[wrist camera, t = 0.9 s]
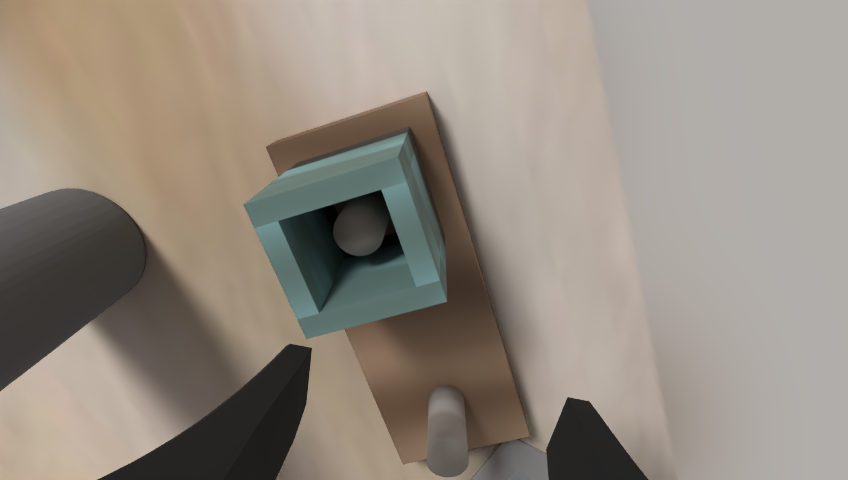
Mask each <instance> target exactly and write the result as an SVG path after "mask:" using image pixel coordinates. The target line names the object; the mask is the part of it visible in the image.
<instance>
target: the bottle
mask: <svg viewBox="0 0 848 480" xmlns="http://www.w3.org/2000/svg"><path fill="white" fill-rule="evenodd" d="M145 261H146V252H145V246H144V242H143V239H142V236H141V234H140V232H139V230H138V228H137V226H136V225H135V223H134V222H133V221H132V219H131V218H130V217H129V216H128V215H127V214H126V212H125V211H123V210H122V209H121V208H120V207H119V206H117V205H116V204H115V203H113V202H112V201H111V200H109V199H107V198H105V197H104V196H101V195H99V194H97V193H94V192H90V191H86V190H82V189H60V190H56V191H51V192H48V193H45V194H42V195H39V196H36V197H33V198H30V199H28V200H25V201H22V202H19V203H16V204H14V205H11V206H8V207H5V208H2V209H0V391H1V390H2V389H4V388H5V387H6V386H8V385H9V384H10V383H12V382H13V381H14V380H15V379H17V378H18V377H19V376H21V375H22V374H23V373H25V372H26V371H27V370H28V369H30V368H31V367H32V366H34V365H35V364H36V363H38V362H39V361H40V360H41V359H43V358H44V357H45V356H47V355H48V354H49V353H51V352H52V351H53V350H54V349H56V348H57V347H58V346H60V345H61V344H62V343H63V342H65V341H66V340H67V339H68V338H70V337H71V336H72V335H74V334H75V333H76V332H77V331H79V330H80V329H81V328H82V327H84V326H85V325H86V324H88V323H89V322H90V321H91V320H93V319H94V318H95V317H97V316H98V315H99V314H100V313H102V312H103V311H104V310H105V309H107V308H108V307H109V306H111V305H112V304H113V303H114V302H116V301H117V300H118V299H119V298H121V297H122V296H123V295H124V294H126V293H127V292H128V291H129V290H130V289H131V288H132V287H133V286H134V285H135V284H136V283H137V282H138V281H139V279H140V278H141V276H142V274H143V271H144V268H145Z"/></svg>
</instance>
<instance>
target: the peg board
mask: <svg viewBox="0 0 848 480" xmlns="http://www.w3.org/2000/svg"><path fill="white" fill-rule="evenodd" d="M266 149H267V151H268V153H269V156H270V158H271V160H272V163H273V165H274V167H275V169H276V172H277V174H278V176H279V177H278V178H277V179H276V180H274V181H273V182H272V183H270V184H269V185H268V186H267V187H265V188H264V189H263V190H262V191H260V192H259V193H258V194H256V195H255V196H254V197H253V198H251V199H250V200H249V201H247V202H246V203H245V204H244V207H245V209H246V211H247V213H248V215H249V218H250V220H251V222H252V224H253V226H254V228H255V230H256V233H257V235H258V237H259V239H260V241H261V243H262V245H263V247H264V250H265V252H266V254H267V256H268V258H269V260H270V262H271V265H272V267H273V269H274V271H275V273H276V275H277V277H278V279H279V282H280V284H281V286H282V288H283V290H284V292H285V294H286V297H287V299H288V301H289V303H290V305H291V307H292V309H293V312H294V314H295V316H296V318H297V320H298V322H299V324H300V326H301V329H302V331H303V333H304V335H305V337H306V339H309V338H312V337H316V336H320V335H324V334H327V333H331V332H335V331H339V330H342V329H345V331H346V334H347V336H348V338H349V341H350V343H351V345H352V348H353V350H354V352H355V355H356V357H357V359H358V361H359V364H360V366H361V368H362V371H363V373H364V375H365V378H366V380H367V382H368V385H369V387H370V389H371V392H372V394H373V396H374V398H375V401H376V403H377V405H378V408H379V410H380V412H381V415H382V417H383V419H384V422H385V424H386V426H387V429H388V431H389V433H390V435H391V438H392V440H393V442H394V445H395V447H396V449H397V452H398V454H399V456H400V459H401V461H402V463H403V464H407V463H412V462H416V461H421V460H425V459H427V465H428V468H429V469H430V470H431V471H432V472H433V473H435V474H436V475H439V476H442V477H454V476H457V475H459V474H461V473H462V472H464V471H465V469H466V468H467V466H468V450H471V449H475V448H480V447H484V446H489V445H493V444H498V443H502V442H507V441H511V440H516V439H520V438H525V437H530V435H529V431H528V426H527V422H526V418H525V414H524V411H523V407H522V404H521V401H520V398H519V394H518V391H517V388H516V384H515V381H514V378H513V374H512V371H511V368H510V365H509V361H508V358H507V355H506V351H505V348H504V345H503V341H502V338H501V335H500V332H499V328H498V325H497V322H496V318H495V315H494V312H493V308H492V305H491V302H490V299H489V295H488V292H487V289H486V285H485V282H484V279H483V275H482V272H481V269H480V266H479V262H478V259H477V256H476V252H475V249H474V246H473V242H472V239H471V236H470V233H469V229H468V226H467V223H466V219H465V216H464V213H463V209H462V206H461V203H460V200H459V196H458V193H457V190H456V186H455V183H454V180H453V176H452V173H451V170H450V167H449V163H448V160H447V157H446V153H445V150H444V147H443V143H442V140H441V137H440V134H439V130H438V127H437V124H436V120H435V117H434V114H433V110H432V107H431V104H430V101H429V97H428V94H427V91H426V92H423V93H420V94H417V95H414V96H411V97H408V98H405V99H402V100H399V101H396V102H393V103H390V104H387V105H384V106H381V107H378V108H375V109H372V110H369V111H366V112H363V113H360V114H357V115H354V116H351V117H348V118H345V119H342V120H338V121H335V122H332V123H329V124H326V125H323V126H320V127H317V128H314V129H311V130H308V131H305V132H302V133H299V134H296V135H293V136H290V137H287V138H284V139H281V140H278V141H276V142H274V143H272V144H270V145H268V146H267V147H266Z"/></svg>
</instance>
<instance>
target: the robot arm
mask: <svg viewBox="0 0 848 480" xmlns="http://www.w3.org/2000/svg"><path fill="white" fill-rule="evenodd" d="M311 351H312V348H309V347H304V346H298V345H293V344H289V345H287V346H286V347H285V348H284V349H283V350H282V351H281V352H280V353H279V354H278V355H277V356H276V357H275V358H274V359H273V360H272V361H271V362H270V363H269V364H268V365H267V366H266V367H264V368H263V369H262V370H261V371H260V372H259V373H258V374H257V375H256V376H255V377H253V378H252V379H251V380H250V381H249V382H248V383H247V384H245V385H244V386H243V387H242V388H241V389H240V390H239V391H237V392H236V393H235V394H234V395H233V396H231V397H230V398H229V399H227V400H226V401H225V402H224V403H222V404H221V405H220V406H218V407H217V408H216V409H215V410H213V411H212V412H211V413H209V414H208V415H207V416H205V417H204V418H203V419H201V420H200V421H198V422H197V423H195V424H194V425H193V426H191V427H190V428H188V429H187V430H185V431H184V432H182V433H181V434H179V435H178V436H176V437H174V438H173V439H171V440H170V441H168V442H166V443H165V444H163V445H161V446H160V447H158V448H156V449H155V450H153V451H151V452H150V453H148V454H146V455H144V456H143V457H141V458H139V459H137V460H135V461H134V462H132V463H130V464H128V465H126V466H124V467H122V468H120V469H118V470H116V471H114V472H112V473H110V474H108V475H106V476H104V477H102V478H100V479H98V480H276V477H277V475H278V473H279V471H280V469H281V467H282V465H283V462H284V460H285V458H286V456H287V454H288V452H289V449H290V447H291V445H292V443H293V441H294V438H295V435H296V433H297V430H298V427H299V424H300V421H301V418H302V415H303V412H304V409H305V406H306V400H307V391H308V381H309V371H310V361H311ZM546 452H547V467H548V478H549V480H648V479H647V477H646V476H645V475H644V474H643V472H642V471H641V470H640V469H639V467H638V466H637V465H636V464H635V462H634V461H633V460H632V458H631V457H630V456H629V454H628V453H627V452H626V450H625V449H624V448H623V446H622V445H621V444H620V442H619V441H618V440H617V438H616V437H615V436H614V434H613V433H612V432H611V430H610V429H609V427H608V426H607V425H606V423H605V422H604V421H603V419H602V418H601V416H600V415H599V414H598V412H597V411H596V410H595V408H594V407H593V406H592V404H591V403H590V402H589V401H584V400H579V399H574V398H569V397H568V398H567V400H566V403H565V405H564V407H563V410H562V412H561V415H560V417H559V420H558V422H557V425H556V427H555V429H554V432H553V434H552V437H551V439H550V442H549V444H548V447H547V449H546Z"/></svg>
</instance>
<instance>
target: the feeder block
mask: <svg viewBox="0 0 848 480" xmlns="http://www.w3.org/2000/svg"><path fill="white" fill-rule="evenodd" d="M471 480H549V478H548V467H547V454H545V453H543V452H541V451H539V450H537V449H535V448H533V447H531V446H529V445H527V444H525V443H523V442H521V441H519V440H517V439H516V440H511V441H507V442H502V444H501V445H500V446H499V447H498V448H497V450H496V451H495V452H494V453H493V454H492V455H491V457H490V458H489V459H488V460H487V461H486V463H485V464H484V465H483V466H482V467H481V469H480V470H479V471H478V472H477V473H476V474H475V476H474V477H473V478H472V479H471Z"/></svg>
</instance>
